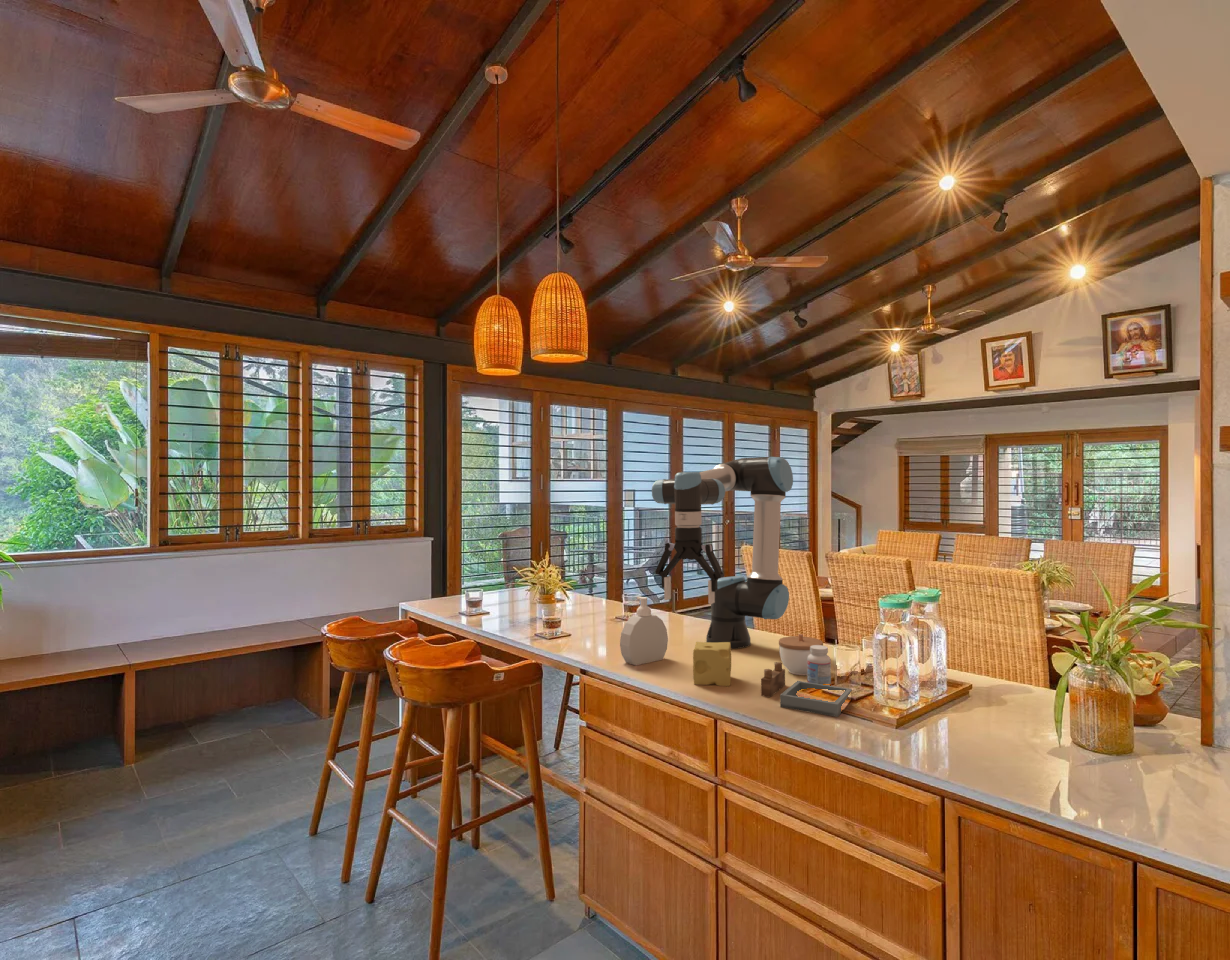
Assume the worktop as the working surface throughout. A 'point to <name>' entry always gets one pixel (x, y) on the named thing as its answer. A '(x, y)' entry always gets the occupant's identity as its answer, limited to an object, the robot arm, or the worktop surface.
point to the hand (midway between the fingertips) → (689, 601)
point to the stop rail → (772, 680)
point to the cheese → (712, 663)
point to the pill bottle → (819, 665)
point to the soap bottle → (643, 637)
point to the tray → (812, 705)
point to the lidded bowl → (796, 652)
